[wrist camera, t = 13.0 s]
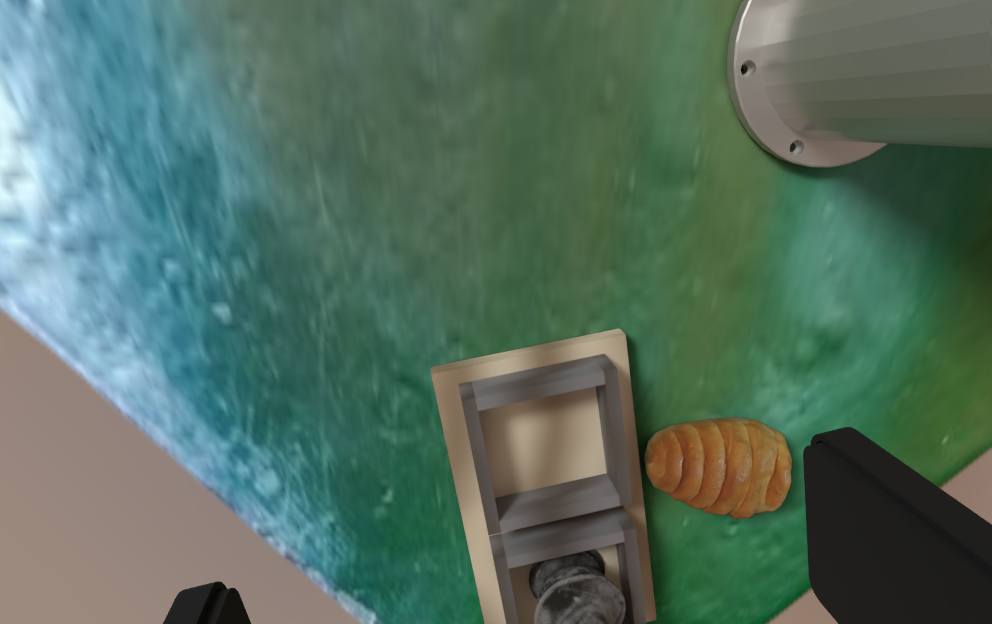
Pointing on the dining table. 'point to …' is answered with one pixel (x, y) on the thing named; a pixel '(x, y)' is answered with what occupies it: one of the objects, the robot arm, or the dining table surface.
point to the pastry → (721, 465)
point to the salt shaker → (575, 591)
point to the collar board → (547, 468)
